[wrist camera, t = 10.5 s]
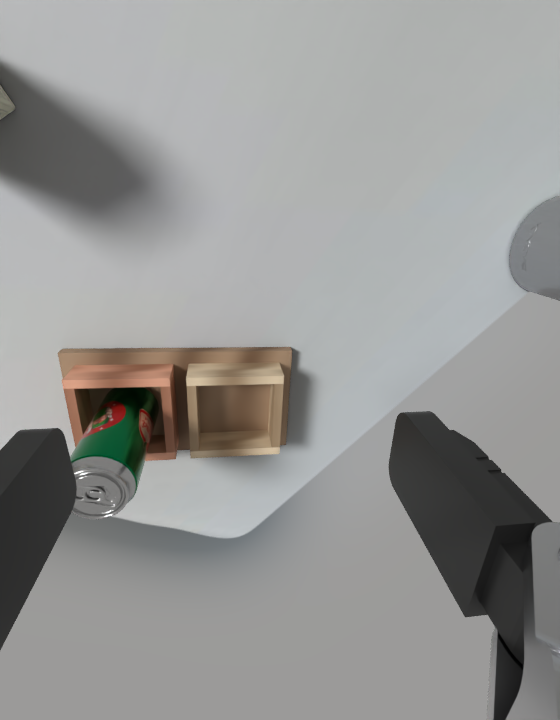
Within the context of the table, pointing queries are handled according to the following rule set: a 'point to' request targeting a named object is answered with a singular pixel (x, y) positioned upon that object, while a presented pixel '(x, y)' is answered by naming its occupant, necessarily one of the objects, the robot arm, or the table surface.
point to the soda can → (113, 452)
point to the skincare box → (5, 104)
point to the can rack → (189, 395)
